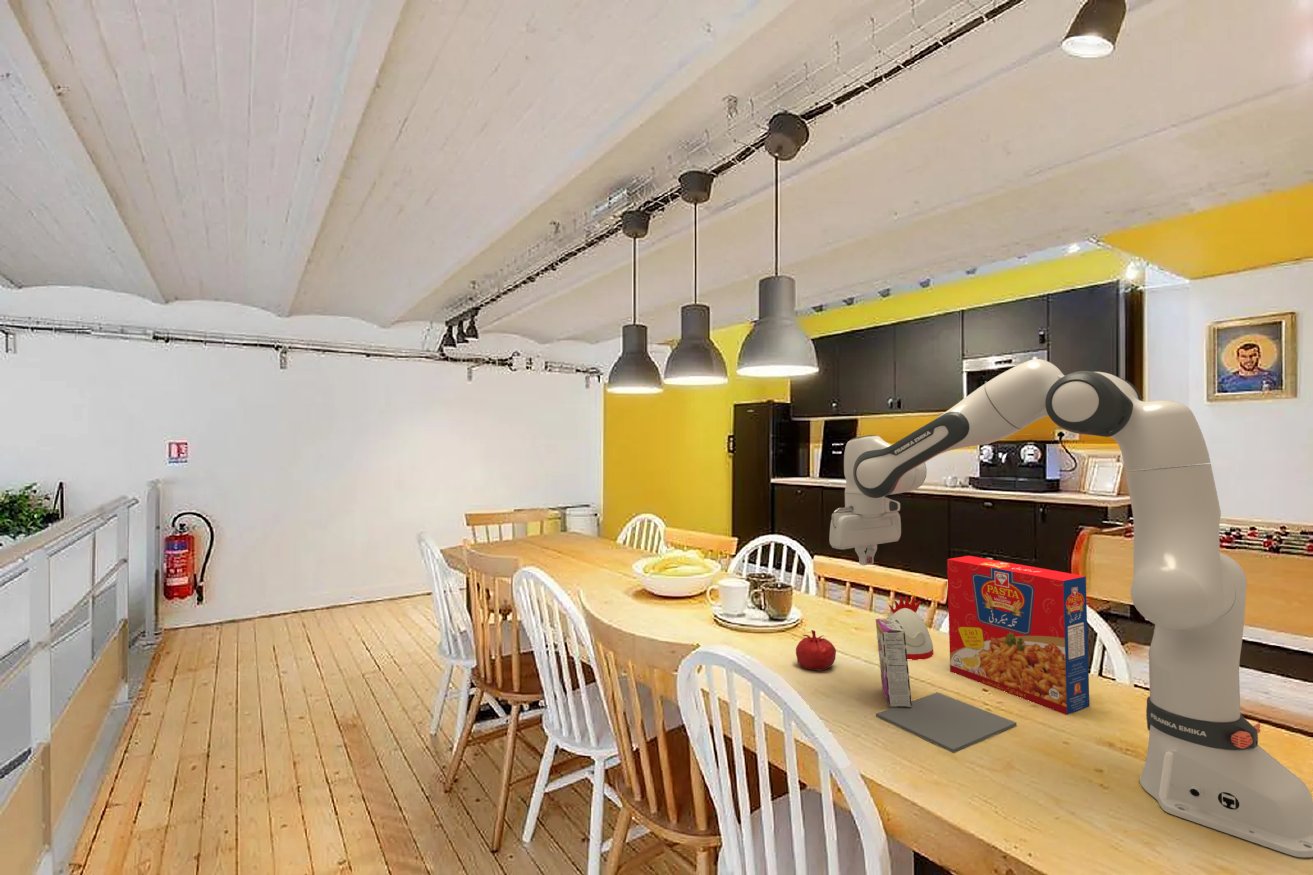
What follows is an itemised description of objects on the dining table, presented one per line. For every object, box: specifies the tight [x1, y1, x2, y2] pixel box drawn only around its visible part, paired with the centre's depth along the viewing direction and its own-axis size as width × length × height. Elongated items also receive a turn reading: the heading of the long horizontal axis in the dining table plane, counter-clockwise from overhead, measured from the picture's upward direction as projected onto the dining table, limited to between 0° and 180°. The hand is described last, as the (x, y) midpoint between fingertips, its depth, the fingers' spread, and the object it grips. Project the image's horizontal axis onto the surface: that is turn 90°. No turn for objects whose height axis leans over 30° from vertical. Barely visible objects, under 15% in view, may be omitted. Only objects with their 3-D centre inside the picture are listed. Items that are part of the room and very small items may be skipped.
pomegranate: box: [795, 629, 837, 671], centre depth 160 cm, size 10×10×9 cm
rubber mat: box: [875, 691, 1017, 754], centre depth 128 cm, size 18×20×1 cm
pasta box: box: [946, 555, 1090, 716], centre depth 144 cm, size 28×8×28 cm, turn 26°
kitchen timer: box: [885, 595, 934, 661], centre depth 170 cm, size 14×14×15 cm
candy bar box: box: [875, 618, 912, 708], centre depth 139 cm, size 11×5×16 cm, turn 168°
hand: (866, 564), depth 145 cm, fingers closed
